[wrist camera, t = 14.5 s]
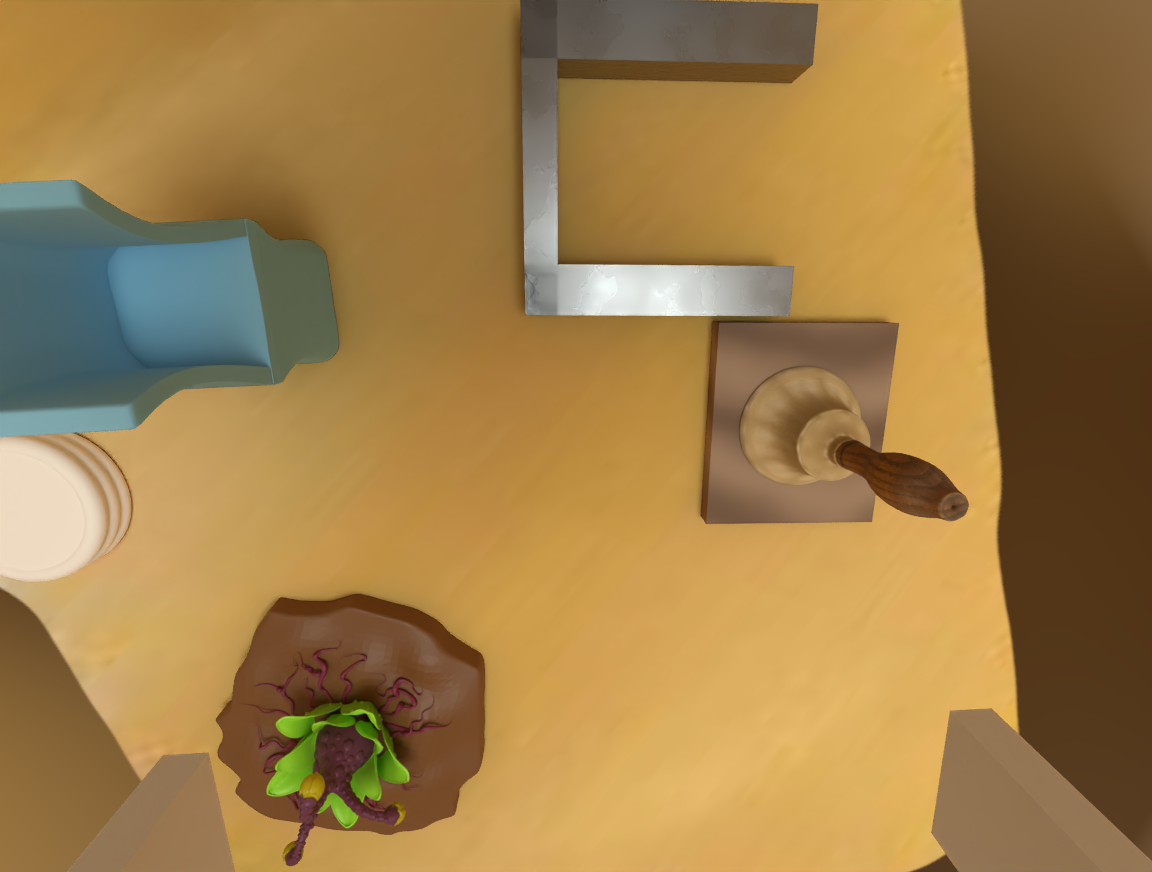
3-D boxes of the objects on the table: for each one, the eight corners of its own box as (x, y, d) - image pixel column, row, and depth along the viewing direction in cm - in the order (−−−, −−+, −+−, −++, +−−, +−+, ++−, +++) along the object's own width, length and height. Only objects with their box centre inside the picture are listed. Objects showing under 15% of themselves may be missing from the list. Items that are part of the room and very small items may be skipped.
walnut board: (712, 321, 39) (719, 322, 38) (886, 322, 40) (899, 323, 38) (700, 516, 43) (706, 523, 41) (860, 514, 43) (871, 521, 42)
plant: (514, 621, 44) (502, 727, 34) (464, 824, 49) (440, 977, 38) (246, 569, 43) (141, 664, 32) (219, 785, 47) (119, 934, 36)
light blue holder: (342, 361, 39) (135, 431, 19) (222, 368, 39) (-109, 445, 19) (324, 237, 37) (73, 177, 18) (197, 243, 37) (-197, 189, 17)
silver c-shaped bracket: (522, 20, 34) (520, -5, 32) (796, 27, 35) (818, 3, 32) (527, 313, 39) (525, 315, 36) (771, 314, 39) (789, 316, 36)
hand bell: (715, 449, 40) (821, 550, 24) (783, 343, 38) (941, 378, 23) (813, 504, 41) (972, 632, 26) (882, 403, 40) (1096, 474, 24)
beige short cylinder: (161, 537, 41) (127, 560, 38) (31, 577, 42) (-15, 603, 38) (92, 406, 39) (48, 417, 36) (-46, 449, 39) (-102, 465, 36)
